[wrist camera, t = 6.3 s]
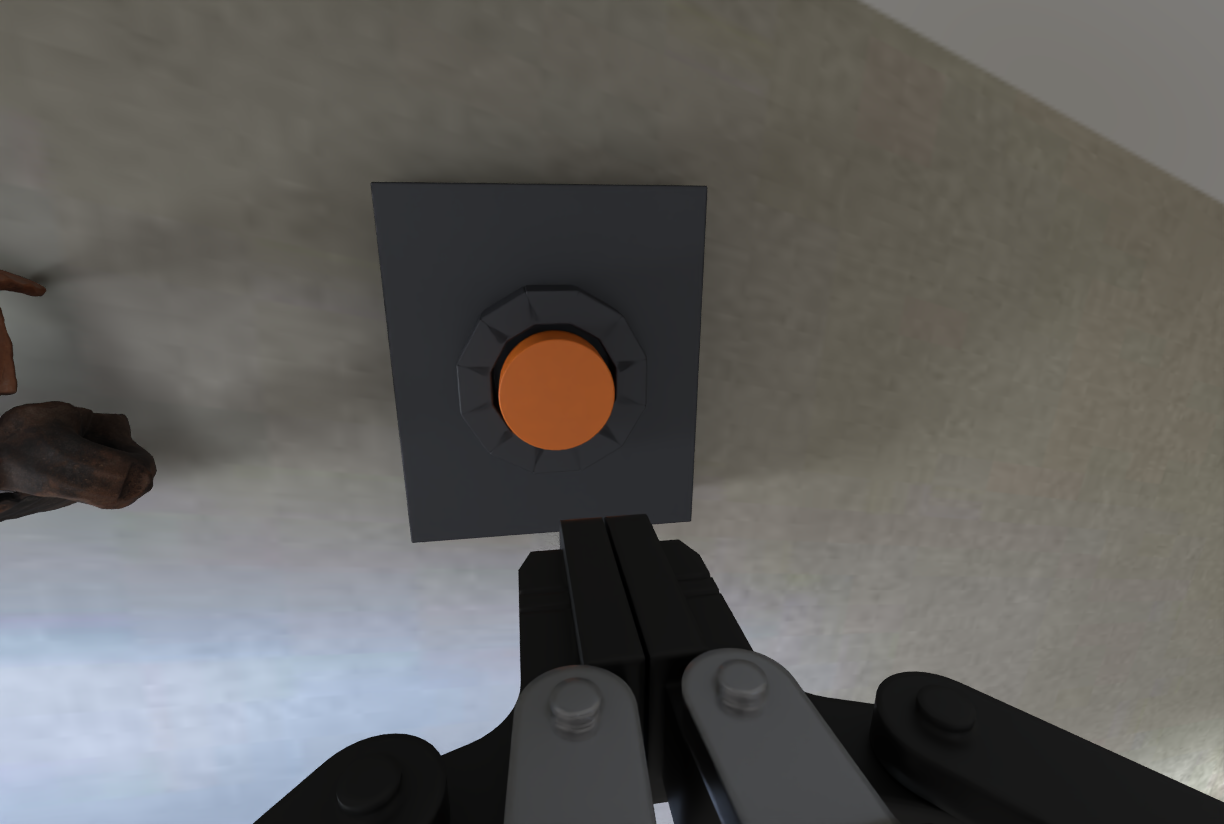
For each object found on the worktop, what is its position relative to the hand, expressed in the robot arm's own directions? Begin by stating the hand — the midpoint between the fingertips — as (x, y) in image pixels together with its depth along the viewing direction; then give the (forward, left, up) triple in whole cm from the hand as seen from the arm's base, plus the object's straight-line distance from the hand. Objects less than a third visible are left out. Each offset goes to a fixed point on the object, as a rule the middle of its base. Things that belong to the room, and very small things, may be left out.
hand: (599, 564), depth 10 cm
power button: (0, 0, -12) cm, 12 cm away
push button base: (0, 0, -17) cm, 17 cm away
